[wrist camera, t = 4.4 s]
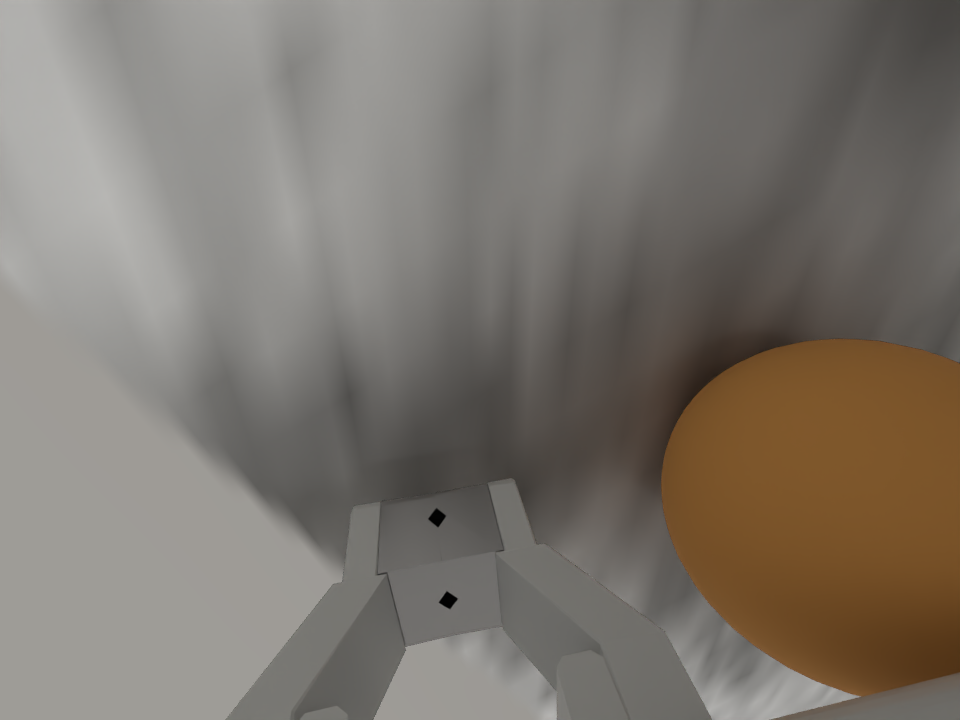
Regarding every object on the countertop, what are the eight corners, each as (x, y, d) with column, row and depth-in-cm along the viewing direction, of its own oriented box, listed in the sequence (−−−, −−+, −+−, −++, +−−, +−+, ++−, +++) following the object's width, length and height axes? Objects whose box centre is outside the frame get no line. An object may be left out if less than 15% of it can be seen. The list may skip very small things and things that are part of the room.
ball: (877, 277, 10) (1423, 435, 5) (811, 486, 13) (1111, 736, 7) (618, 316, 9) (917, 550, 4) (607, 527, 12) (776, 835, 7)
